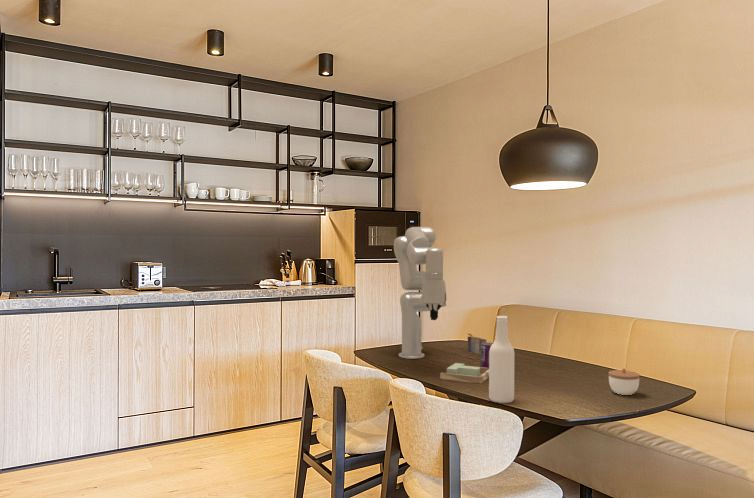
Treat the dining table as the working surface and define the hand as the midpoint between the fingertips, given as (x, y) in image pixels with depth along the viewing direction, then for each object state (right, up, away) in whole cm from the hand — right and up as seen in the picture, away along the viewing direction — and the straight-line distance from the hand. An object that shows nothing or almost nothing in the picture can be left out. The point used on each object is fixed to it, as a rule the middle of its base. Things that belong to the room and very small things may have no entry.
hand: (433, 319), depth 246 cm
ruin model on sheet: (+27, -23, +46) cm, 58 cm away
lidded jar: (+68, -24, -32) cm, 79 cm away
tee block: (+12, -23, -6) cm, 27 cm away
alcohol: (+20, -24, -42) cm, 52 cm away
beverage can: (+24, -23, +4) cm, 34 cm away
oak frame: (+13, -23, -6) cm, 27 cm away
